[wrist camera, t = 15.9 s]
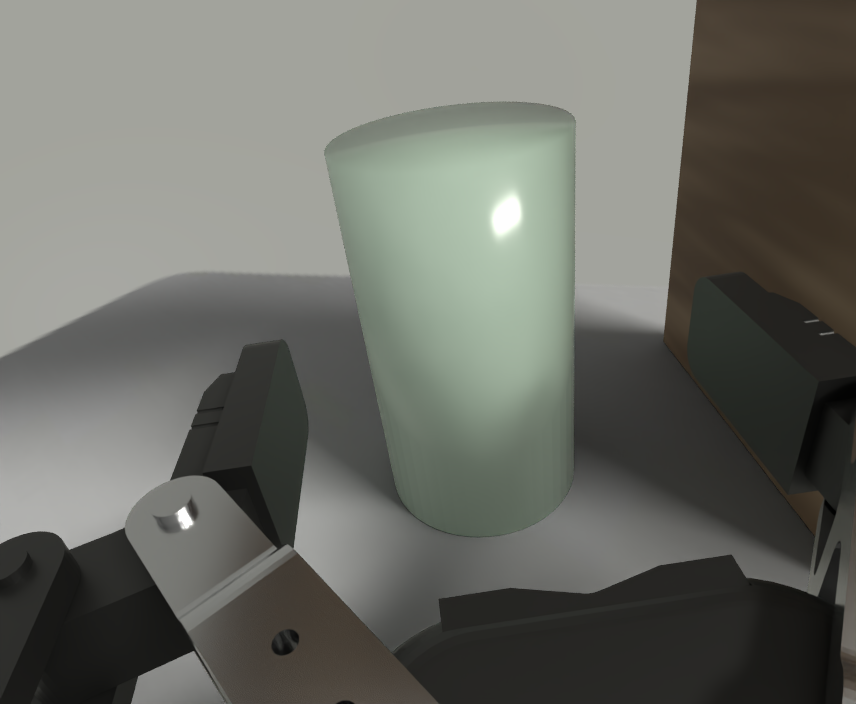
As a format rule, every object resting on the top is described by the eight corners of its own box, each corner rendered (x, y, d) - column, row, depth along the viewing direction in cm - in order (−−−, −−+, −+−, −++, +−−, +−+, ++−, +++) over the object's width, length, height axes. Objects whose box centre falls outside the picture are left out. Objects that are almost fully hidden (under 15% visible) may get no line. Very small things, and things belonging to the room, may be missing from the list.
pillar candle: (398, 550, 18) (314, 188, 12) (392, 422, 23) (331, 122, 17) (597, 520, 18) (611, 144, 12) (548, 399, 23) (541, 91, 17)
